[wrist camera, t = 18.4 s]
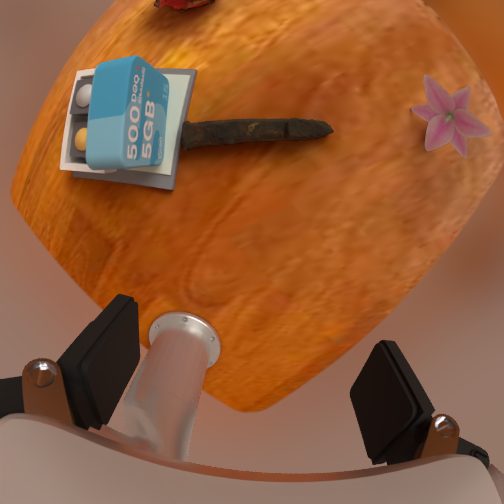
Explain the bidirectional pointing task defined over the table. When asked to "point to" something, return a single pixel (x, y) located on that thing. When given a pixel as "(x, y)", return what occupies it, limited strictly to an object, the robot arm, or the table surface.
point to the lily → (448, 118)
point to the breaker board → (176, 115)
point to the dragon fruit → (182, 4)
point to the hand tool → (251, 131)
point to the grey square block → (81, 97)
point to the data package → (126, 115)
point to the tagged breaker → (79, 140)
